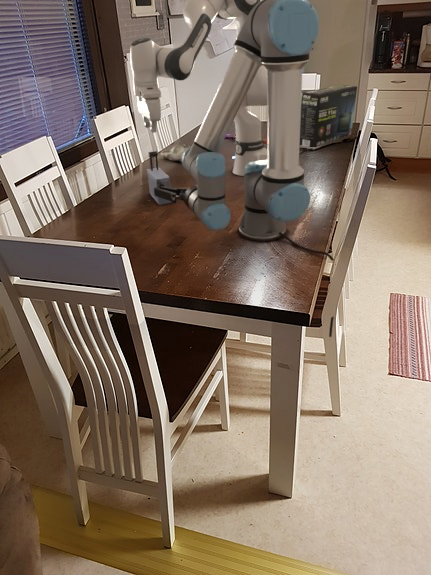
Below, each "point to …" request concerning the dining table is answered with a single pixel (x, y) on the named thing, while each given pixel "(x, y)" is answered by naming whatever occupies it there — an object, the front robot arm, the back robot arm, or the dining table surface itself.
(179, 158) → the fossil
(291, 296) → the dining table surface
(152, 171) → the grey long flat panel
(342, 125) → the router box
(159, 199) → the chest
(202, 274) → the dining table surface
